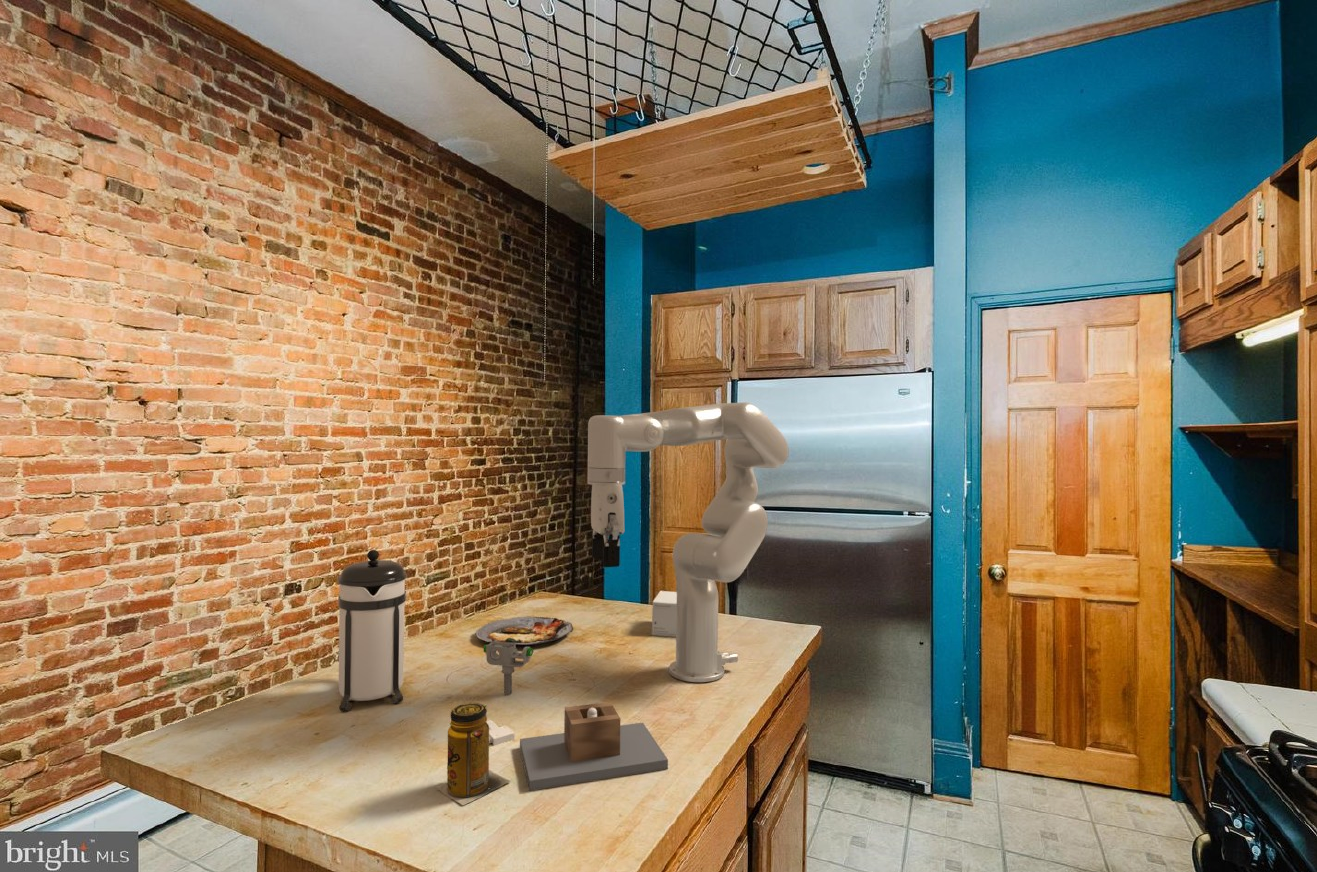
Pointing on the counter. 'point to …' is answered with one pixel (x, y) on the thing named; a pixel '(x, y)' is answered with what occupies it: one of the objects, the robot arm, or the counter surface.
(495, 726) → the corner connector
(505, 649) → the mechanical component
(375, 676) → the coffee press
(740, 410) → the robot arm
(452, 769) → the condiment
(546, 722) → the counter surface
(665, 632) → the supplement box
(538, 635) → the food plate
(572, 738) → the hollow block
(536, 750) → the pin board
